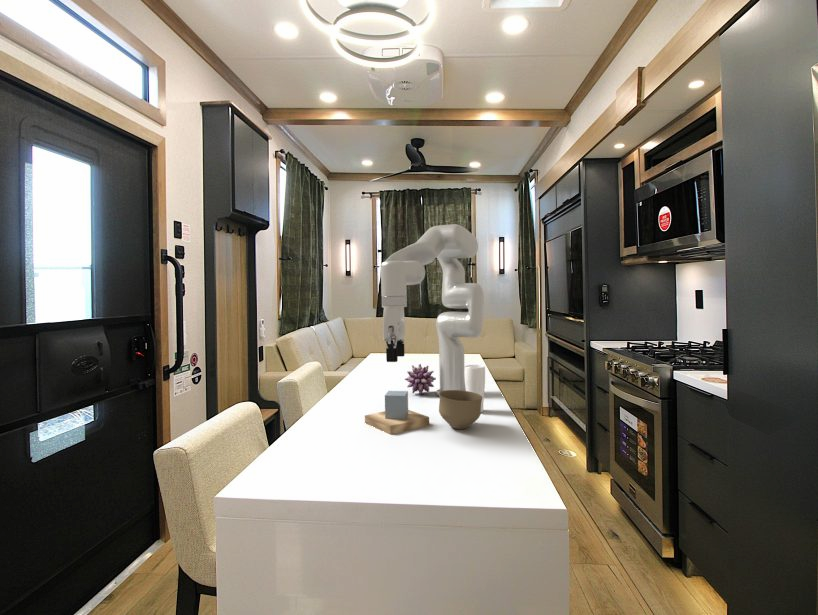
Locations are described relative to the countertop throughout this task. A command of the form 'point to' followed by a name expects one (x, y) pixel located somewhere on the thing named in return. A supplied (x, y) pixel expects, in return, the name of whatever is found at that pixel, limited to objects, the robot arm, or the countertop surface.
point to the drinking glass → (475, 380)
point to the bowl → (459, 407)
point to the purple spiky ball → (420, 379)
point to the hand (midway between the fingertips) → (395, 358)
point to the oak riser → (396, 422)
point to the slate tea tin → (396, 405)
